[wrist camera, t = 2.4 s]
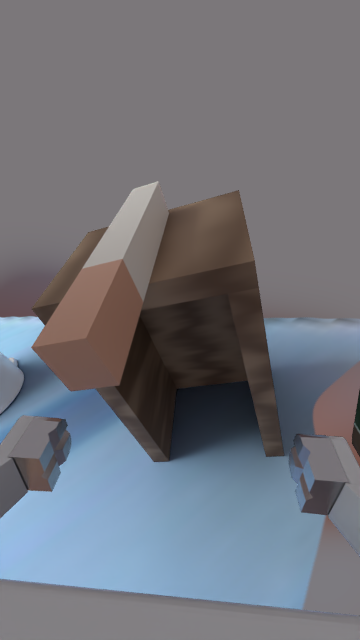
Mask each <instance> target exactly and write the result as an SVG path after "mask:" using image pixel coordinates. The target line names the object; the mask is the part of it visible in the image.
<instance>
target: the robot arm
mask: <svg viewBox="0 0 360 640" xmlns="http://www.w3.org/2000/svg"><path fill="white" fill-rule="evenodd" d="M23 381H24V374H23V372H22V371H21V370H20V369H19V368H18V367H17V360H15V359H14V358H9V359H8V358H7V357H6V356H4V355H3V354H2V353H1V352H0V413H2V412H3V411H4V410H5V409H6V408H7V407H8V406H9V405H10V404H11V402H12V401H13V400H14V399H15V397H16V396H17V394H18V393H19V391H20V389H21V387H22V384H23ZM67 426H68V425H67V422H66V419H59V418H48V417H38V416H25V415H23V416H22V417H20V418H19V419H18V420H17V422H16V423H15V425H14V426H13V427H12V429H11V430H10V432H9V433H8V435H7V436H6V437H5V439H4V440H3V442H2V443H1V445H0V518H1V517H2V516H3V515H4V514H5V513H6V512H7V511H8V510H10V509H11V508H12V507H13V506H14V505H15V504H16V503H17V502H18V501H19V500H20V499H21V498H22V497H23V496H24V495H25V494H26V493H27V492H28V491H27V490H30V491H50V492H52V491H53V489H54V486H55V484H56V482H57V480H58V478H59V475H60V473H61V472H60V468H59V466H60V465H61V464H63V463H64V462H65V461H66V460H67V457H68V455H69V452H70V448H71V435H70V433H69V432H68V431H66V428H67ZM293 441H294V444H295V447H293V448H291V450H290V454H289V468H290V473H291V477H292V478H293V480H294V481H295V482H296V483H297V484H298V485H297V488H296V490H295V492H296V496H297V499H298V503H299V506H300V510H301V512H304V513H313V514H322V515H328V517H329V519H330V520H331V521H332V522H333V524H334V525H335V526H336V528H337V529H338V530H339V531H340V533H341V534H342V535H343V536H344V538H345V539H346V540H347V541H348V543H349V544H350V545H351V546H352V548H353V549H354V550H355V552H356V553H357V554H358V555H359V557H360V467H359V465H358V463H357V461H356V459H355V457H354V455H353V453H352V451H351V449H350V447H349V445H348V443H347V441H346V439H345V438H343V437H337V436H326V435H308V434H297V435H296V436H295V438H294V440H293ZM0 640H360V616H357V615H347V614H338V613H328V612H318V611H308V610H299V609H290V608H280V607H270V606H260V605H251V604H241V603H231V602H221V601H212V600H202V599H192V598H182V597H173V596H163V595H153V594H143V593H134V592H124V591H114V590H104V589H95V588H85V587H75V586H65V585H56V584H46V583H36V582H26V581H16V580H7V579H0Z"/></svg>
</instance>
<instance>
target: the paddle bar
mask: <svg viewBox="0 0 360 640" xmlns="http://www.w3.org/2000/svg"><path fill="white" fill-rule="evenodd" d="M168 215H169V212H168V208H167V206H166V202H165V199H164V196H163V193H162V190H161V187H160V184H159V181H158V182H154V183H151V184H148V185H145V186H141V187H138V188H135V189H133V190H132V192H131V193H130V195H129V197H128V198H127V200H126V201H125V203H124V204H123V206H122V207H121V209H120V210H119V212H118V213H117V215H116V217H115V218H114V220H113V221H112V223H111V224H110V226H109V227H108V229H107V231H106V232H105V234H104V235H103V237H102V238H101V240H100V241H99V243H98V245H97V246H96V248H95V249H94V251H93V252H92V254H91V255H90V257H89V259H88V260H87V262H86V263H85V265H84V266H83V268H82V269H81V271H80V273H79V274H78V276H77V277H76V279H75V280H74V282H73V283H72V285H71V287H70V288H69V290H68V291H67V293H66V294H65V296H64V297H63V299H62V301H61V302H60V304H59V305H58V307H57V308H56V310H55V311H54V313H53V315H52V316H51V318H50V319H49V321H48V322H47V324H46V325H45V327H44V329H43V330H42V332H41V333H40V335H39V336H38V338H37V339H36V341H35V343H34V344H33V346H32V347H31V348H32V349H33V350H34V351H35V352H36V353H37V355H38V356H39V357H40V358H41V359H42V360H43V361H44V362H45V363H46V365H47V366H48V367H49V368H50V369H51V370H52V371H53V372H54V373H55V375H56V376H57V377H58V378H59V379H60V380H61V381H62V382H63V383H64V385H65V386H66V387H67V388H68V389H69V390H70V391H78V390H86V389H94V388H102V387H110V386H119V385H120V381H121V378H122V374H123V371H124V367H125V364H126V360H127V357H128V354H129V350H130V347H131V343H132V340H133V336H134V333H135V329H136V326H137V322H138V319H139V316H140V312H141V309H142V305H143V302H144V298H145V295H146V291H147V288H148V284H149V281H150V278H151V274H152V271H153V267H154V264H155V260H156V257H157V253H158V250H159V246H160V243H161V239H162V236H163V233H164V229H165V226H166V222H167V219H168Z"/></svg>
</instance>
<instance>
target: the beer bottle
mask: <svg viewBox="0 0 360 640" xmlns="http://www.w3.org/2000/svg"><path fill="white" fill-rule="evenodd" d="M352 444H353V446H354V448H355V449H356V451H357V453H358V455H359V456H360V391H359V397H358V404H357V409H356V415H355V422H354V428H353V434H352Z"/></svg>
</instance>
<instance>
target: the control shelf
mask: <svg viewBox="0 0 360 640" xmlns="http://www.w3.org/2000/svg"><path fill="white" fill-rule="evenodd" d="M168 212H169V215H168V219H167V222H166V226H165V229H164V233H163V236H162V239H161V243H160V246H159V250H158V253H157V257H156V260H155V264H154V267H153V271H152V274H151V278H150V281H149V284H148V288H147V291H146V295H145V298H144V302H143V305H142V309H141V312H140V316H139V319H138V322H137V326H136V329H135V333H134V336H133V340H132V343H131V347H130V350H129V354H128V357H127V360H126V364H125V367H124V371H123V374H122V378H121V381H120V385H119V386H110V387H102V388H95V389H96V390H97V391H98V392H99V394H100V395H101V396H102V397H103V399H104V400H105V401H106V402H107V404H108V405H109V406H110V407H111V409H112V410H113V411H114V412H115V414H116V415H117V416H118V417H119V419H120V420H121V421H122V422H123V424H124V425H125V426H126V427H127V429H128V430H129V431H130V432H131V434H132V435H133V436H134V437H135V439H136V440H137V441H138V442H139V444H140V445H141V446H142V447H143V449H144V450H145V451H146V452H147V454H148V455H149V456H150V457H151V459H152V460H153V461H154V462H165V461H169V456H170V447H171V437H172V428H173V419H174V409H175V400H176V391H177V389H179V388H188V387H197V386H205V385H214V384H223V383H232V382H241V381H248V383H249V387H250V391H251V395H252V399H253V403H254V408H255V412H256V416H257V420H258V424H259V429H260V433H261V437H262V441H263V445H264V450H265V454H266V457H272V456H284V452H283V445H282V438H281V432H280V425H279V419H278V412H277V405H276V399H275V392H274V385H273V379H272V372H271V366H270V359H269V352H268V346H267V339H266V333H265V326H264V319H263V313H262V306H261V300H260V293H259V287H258V280H257V274H256V267H255V260H254V256H253V251H252V247H251V242H250V238H249V234H248V229H247V225H246V220H245V216H244V211H243V207H242V202H241V198H240V194H239V190H238V191H235V192H232V193H228V194H224V195H220V196H217V197H213V198H210V199H206V200H202V201H199V202H195V203H192V204H188V205H184V206H181V207H177V208H174V209H170V210H168ZM107 229H108V227H106V228H102V229H99V230H95V231H91V232H88V234H87V235H86V236H85V238H84V239H83V240H82V242H81V243H80V244H79V246H78V247H77V248H76V250H75V251H74V252H73V254H72V255H71V256H70V258H69V259H68V260H67V262H66V263H65V265H64V266H63V267H62V268H61V270H60V271H59V272H58V274H57V275H56V277H55V278H54V279H53V280H52V282H51V283H50V284H49V286H48V287H47V289H46V290H45V291H44V293H43V294H42V295H41V297H40V298H39V299H38V301H37V302H36V303H35V305H34V306H33V307H32V310H33V311H34V312H35V313H36V315H37V316H38V317H39V319H40V320H41V321H42V322H43V324H44V325H46V324H47V322H48V321H49V319H50V318H51V316H52V315H53V313H54V311H55V310H56V308H57V307H58V305H59V304H60V302H61V301H62V299H63V297H64V296H65V294H66V293H67V291H68V290H69V288H70V287H71V285H72V283H73V282H74V280H75V279H76V277H77V276H78V274H79V273H80V271H81V269H82V268H83V266H84V265H85V263H86V262H87V260H88V259H89V257H90V255H91V254H92V252H93V251H94V249H95V248H96V246H97V245H98V243H99V241H100V240H101V238H102V237H103V235H104V234H105V232H106V231H107Z"/></svg>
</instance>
